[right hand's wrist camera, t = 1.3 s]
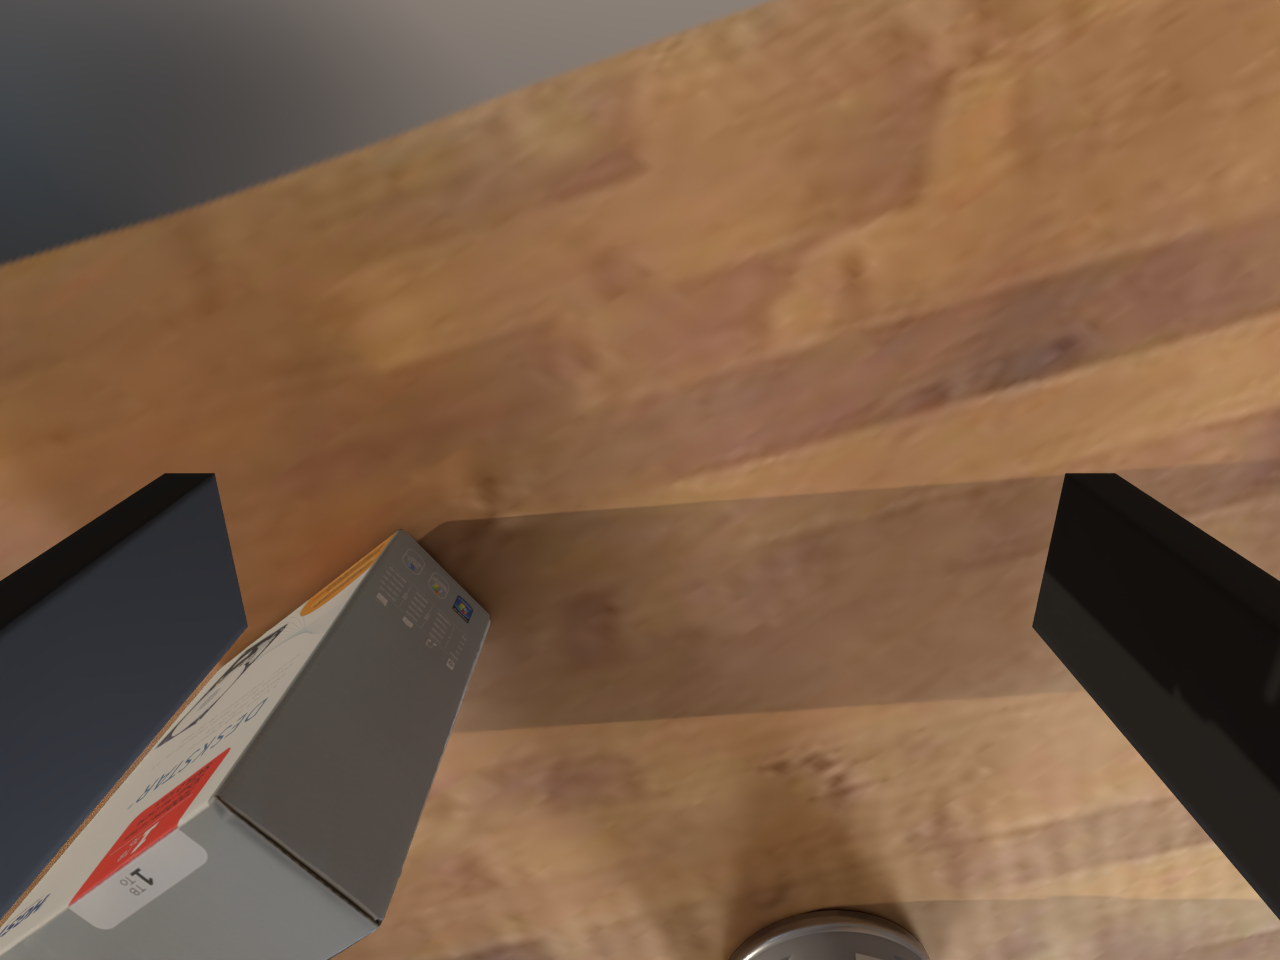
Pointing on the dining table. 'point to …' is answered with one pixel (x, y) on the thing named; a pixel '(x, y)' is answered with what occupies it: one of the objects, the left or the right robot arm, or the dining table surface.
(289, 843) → the hard drive box
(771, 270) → the dining table surface
